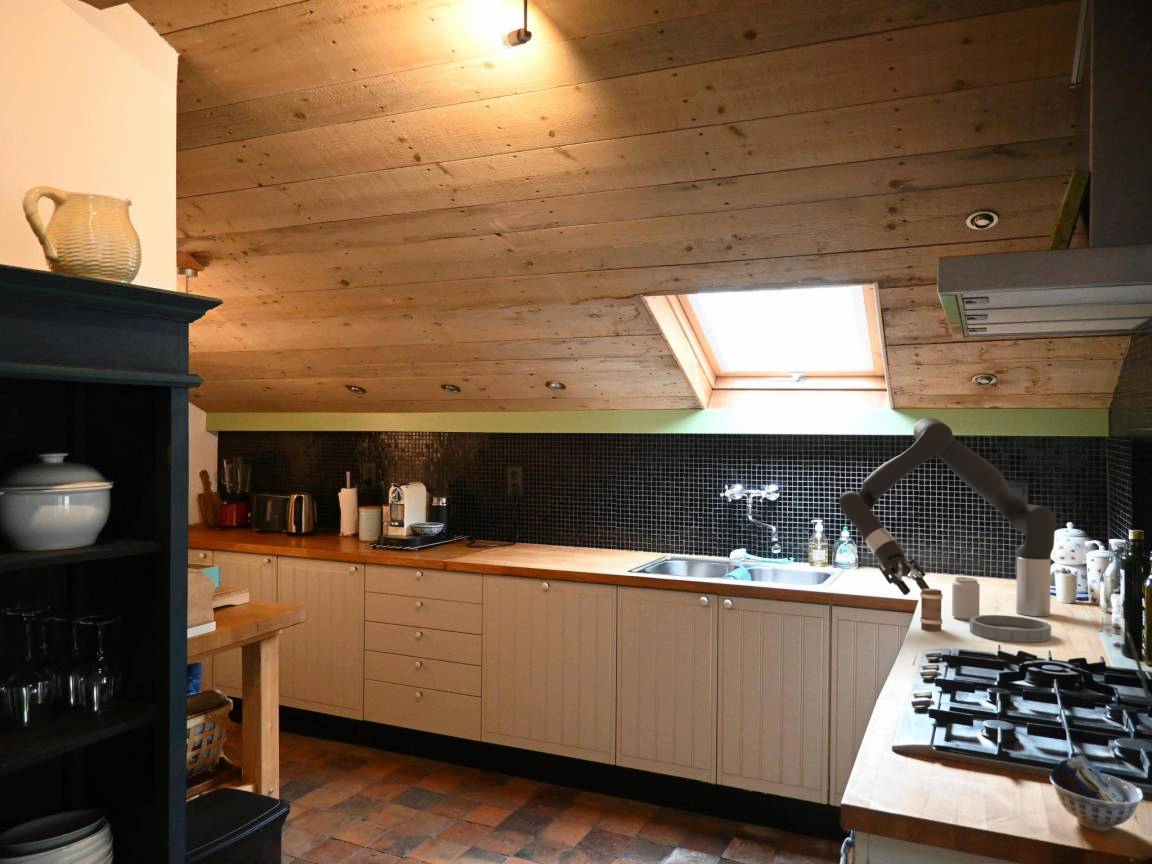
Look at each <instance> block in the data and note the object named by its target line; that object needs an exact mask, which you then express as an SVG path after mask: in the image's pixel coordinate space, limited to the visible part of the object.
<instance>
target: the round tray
mask: <svg viewBox="0 0 1152 864" xmlns="http://www.w3.org/2000/svg"><path fill="white" fill-rule="evenodd" d="M969 632H970V634H972V635H974V636H976V637H980V638H982V639H983V638H984V639H988V640H994V641H999V642H1005V641H1010V642H1009V643H1016V642H1020V643H1019V644H1037V643H1046V642H1049V641H1051V639H1052V625H1051V624H1049V623H1048V622H1047V621H1046V622H1045V621H1042V620H1039V619H1035V618H1029V617H1025V616H1015V615H1007V614H1006V615H1003V614H1002V615H1001V614H985V615H984V614H982V615H981V614H979V616H974V617H972V618H970V621H969Z"/></svg>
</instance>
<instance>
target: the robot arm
mask: <svg viewBox="0 0 1152 864" xmlns="http://www.w3.org/2000/svg"><path fill="white" fill-rule="evenodd" d="M913 437H914V439H915V442H914V443H913V444H912V445H911V446H910V447H909V448H907V449H906V450H905V451H904V452H902V453H900V454H899V455H897V456H895V457H893V458H892V459H889V460H888V461H886V462H884V463H883V464H881V465H880V466H879V467H877V468H876V469H875V470H874V471H873V472H872V473H870V475H869V476H867V477H866V478H864V480H863V482H862V488H861V489H860V490H859V491H858V492H856V491H854V490H853V491H852V490H851V491H849V490H848V491H845V492H844V493H842V494H841V495H840V497H839V500H838V505H839V508H840V510H841V511H842V512H843V513H844V515H845V516H846V518H847V519H848V520H849V521H850V523H852V524H853V525H854V527H855V528H856V530H857V531H858V533H859V534H860V536H861V537H862V539H863V540H864V542H865V544H866V545H867V547H868V548H869V550H870V551H871V552H872V554H873V555H874V557H875V558H876V559H877V561H878V563H879V564H880V566H879V567H878V569H879V571H880V573H881V574H882V576H884V577H883V578H885V580H886V581H887V583H888V584H889V585H892V584H893V585H894V586H897V588H898V589H899V590H900V592H901V593H902V594H903V596H907V595H909V593H911V588H909V586H908V585H907V583H906V582H905V581H904V580H903V577H905V578H907V579H911V580H912V581H914V582H916V585H917V586H918V587H919V589H920V590H921V591H922V589H930V586H929V585H928V584H927V583H928V582H926V581H925V580H924V577H926V575H927V573H926V572H925V570H923V568H922V567H921V566H920V565H919V564H918V562H917V561H916V560H915V559H913V558H912V559H910V560H909V561H908V560H907V559H906V558H905V551H904V550H903V548H902V547H901V546H900V545H899V543H898V541H897V540H896V539H895V538H894V536H893V535H892V534H891V532H889V531H888V530H887V529H886V527H885V526H884V524H883V523H882V522H881V520H879V518H878V517H877V516H876V515H875V514H873V512H872V511H871V510H872V509H873V508H874V507H875V505H876V504H877V502H879V500H880V499H881V497H883V496H884V495H885V494H886V493H887V492H888V491H889V490H891V489H892V488H893V487H894V486H896V485H897V483H899V482H900V481H901V480H902V479H904V478H905V477H906V476H907V475H908V474H910V473H912V471H914V470H915V469H917V468H918V467H920V466H921V465H923V464H924V463H925V462H927V461H929V460H930V459H932V458H933V457H936V456H937V457H938V458H939V459H940V460H942V462H944V463H945V464H946V465H947V466H948V468H949V469H951V471H952V472H953V473H954V474H955V475H956V476H957V477H958V478H959V479H960V480H961V481H962V482H963V483H965V484H966V485H967V486H968V487H969V488H970V489H971V490H973V492H975V493H976V494H977V495H978V496H979V497H981V499H984V500H985V501H986V502H987V503H988V504H990V505H991V506H992V507H994V508H995V509H996V510H997V511H998V512H999V513H1000V514H1001V515H1002V516H1003V517H1004V518H1005V519H1006V521H1008V523H1009V524H1010V525H1012V527H1013V528H1014V529H1015V530H1016V531H1018V532H1020V533H1022V534H1023V535H1024V534H1025V541H1024V543H1023V544H1022V545H1020V546H1017V549H1016V607H1015V608H1016V613H1017V614H1019V615H1023V616H1024V615H1025V616H1031V617H1049V616H1050V615H1051V565H1052V563H1051V559H1052V557H1051V555H1052V553H1053V552H1052V551H1053V550H1054V546H1055V533H1056V532H1055V531H1056V522H1055V516H1054V513H1053V511H1052V510H1051V509H1050V508H1048V507H1047V506H1044V505H1037V504H1030V503H1028V502H1026V501H1024V500H1023V499H1022V498H1020V496H1018V495H1017V494H1015V492H1013V491H1012V490H1011V488H1010V487H1009V485H1008V482H1007V480H1006V478H1005V477H1004V475H1003V474H1002V473H1001V472H1000V471H999V470H998V469H997V468H996V467H995V466H993V465H992V463H990V462H989V461H988V460H986V459H985V458H984V457H982V456H981V455H980V454H978V453H977V452H975V451H974V450H972V449H971V448H968V447H967V446H965V445H964V444H962V443H961V442H960V441H958V439H956V438H955V437H954V435H953V431H952V428H951V427H950V426H948V425H947V424H946V423H945V422H942V421H941V420H940V419H938V418H933V417H923V418H921V419H920V420H918V421H917V422H916V423H915V424H914V428H913Z"/></svg>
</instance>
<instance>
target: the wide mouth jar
mask: <svg viewBox="0 0 1152 864" xmlns="http://www.w3.org/2000/svg"><path fill="white" fill-rule="evenodd" d="M951 585H952V589H951V591H952V593H951V595H952V597H951V600H952V601H951V604H952V605H951V609H952V610H951V612H952V613H951V616H953V617H954V619H957V620H960V621H969V622H970V618H972V617H974V616H980V600H981V599H980V596H981V595H980V594H981V593H980V591H981V590H980V589H981V587H980V583H979V582H978V579H977V578H975V577H974V578H973V577H966V576H962V577H961V576H959V577H958V576H957V577H954V581H953V582H952V583H951Z"/></svg>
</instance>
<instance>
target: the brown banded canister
mask: <svg viewBox="0 0 1152 864" xmlns="http://www.w3.org/2000/svg"><path fill="white" fill-rule="evenodd" d="M943 596H944V595H943V594H942V590H941V589H938V588H929V589H922V590H921V592H920V598H921V605H920V606H921V609H920V611H921V615H920V618H919V619H920V620H919V621H920V623H921V624H920V628H921V630H923V631H927V632H941V631H942V624H943V619H942V599H943Z"/></svg>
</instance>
